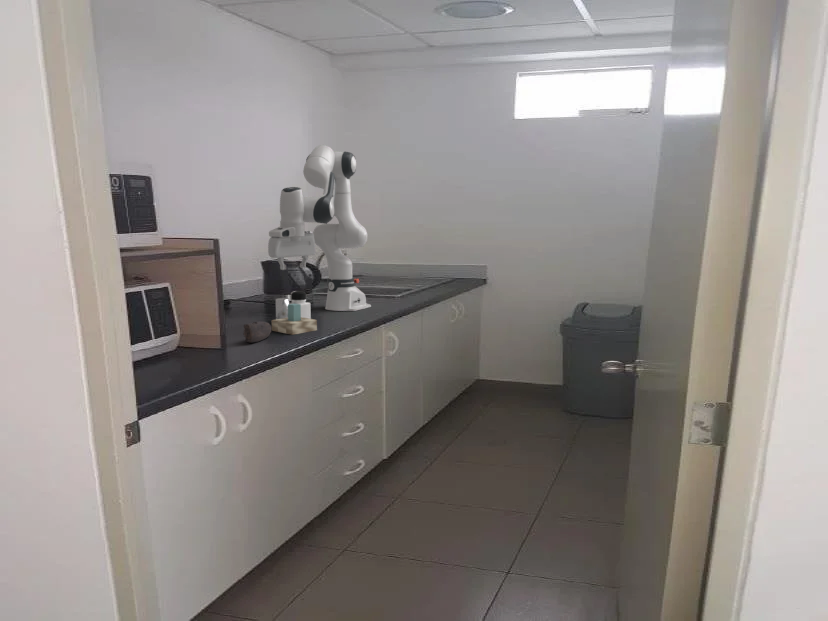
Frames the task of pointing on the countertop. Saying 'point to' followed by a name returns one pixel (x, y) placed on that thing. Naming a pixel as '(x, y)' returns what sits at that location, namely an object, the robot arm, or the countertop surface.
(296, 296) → the medicine bottle
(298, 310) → the square bit
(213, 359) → the countertop surface
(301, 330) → the bore block
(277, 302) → the cylinder
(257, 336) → the perforated stone tool
